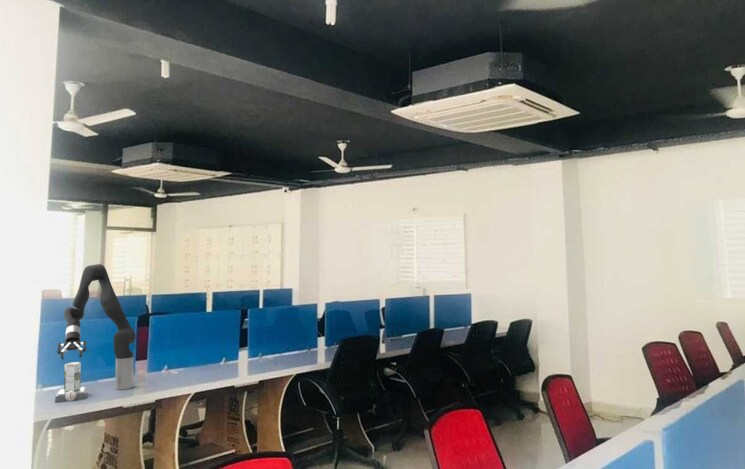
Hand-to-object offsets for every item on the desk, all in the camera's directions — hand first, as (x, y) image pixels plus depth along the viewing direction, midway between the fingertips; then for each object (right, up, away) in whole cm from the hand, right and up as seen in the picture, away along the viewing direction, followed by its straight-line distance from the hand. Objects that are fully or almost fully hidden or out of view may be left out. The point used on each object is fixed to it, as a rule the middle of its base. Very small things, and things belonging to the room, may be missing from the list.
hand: (71, 357), depth 300 cm
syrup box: (+7, -15, -12) cm, 20 cm away
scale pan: (+7, -15, -12) cm, 21 cm away
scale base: (+7, -18, -13) cm, 24 cm away
